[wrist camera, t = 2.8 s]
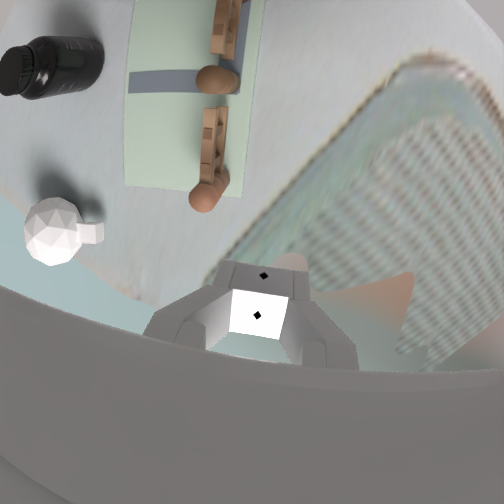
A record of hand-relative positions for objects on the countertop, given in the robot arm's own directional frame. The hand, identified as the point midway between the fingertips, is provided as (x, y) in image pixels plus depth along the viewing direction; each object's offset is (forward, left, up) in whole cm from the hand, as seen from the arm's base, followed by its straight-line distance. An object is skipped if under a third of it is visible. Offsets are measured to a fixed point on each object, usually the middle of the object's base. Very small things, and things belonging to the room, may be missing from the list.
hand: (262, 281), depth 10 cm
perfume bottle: (+11, -26, -21) cm, 35 cm away
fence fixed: (-12, -6, -21) cm, 25 cm away
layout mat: (-7, -11, -21) cm, 24 cm away
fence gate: (0, -6, -20) cm, 21 cm away
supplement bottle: (-10, -24, -21) cm, 33 cm away
